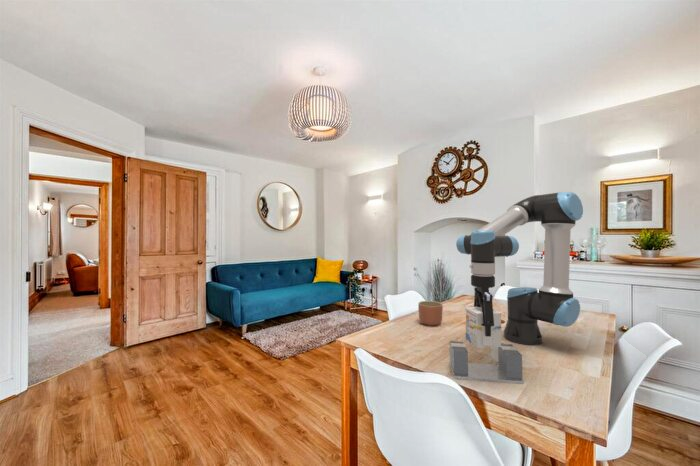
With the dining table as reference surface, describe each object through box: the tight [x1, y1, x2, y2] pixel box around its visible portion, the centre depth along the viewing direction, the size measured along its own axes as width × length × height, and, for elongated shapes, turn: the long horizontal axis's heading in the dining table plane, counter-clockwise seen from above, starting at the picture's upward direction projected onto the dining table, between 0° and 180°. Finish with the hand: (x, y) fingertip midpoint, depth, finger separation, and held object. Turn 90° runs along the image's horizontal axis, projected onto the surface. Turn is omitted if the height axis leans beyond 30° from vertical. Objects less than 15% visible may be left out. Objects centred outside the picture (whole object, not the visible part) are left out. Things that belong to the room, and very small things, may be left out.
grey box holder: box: [449, 340, 524, 385], centre depth 101 cm, size 21×11×9 cm, turn 79°
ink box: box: [465, 306, 502, 349], centre depth 100 cm, size 9×8×12 cm
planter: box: [417, 300, 444, 327], centre depth 155 cm, size 12×12×11 cm
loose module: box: [490, 341, 507, 363], centre depth 110 cm, size 5×7×6 cm
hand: (483, 339), depth 100 cm, fingers closed on ink box, 10 cm apart
